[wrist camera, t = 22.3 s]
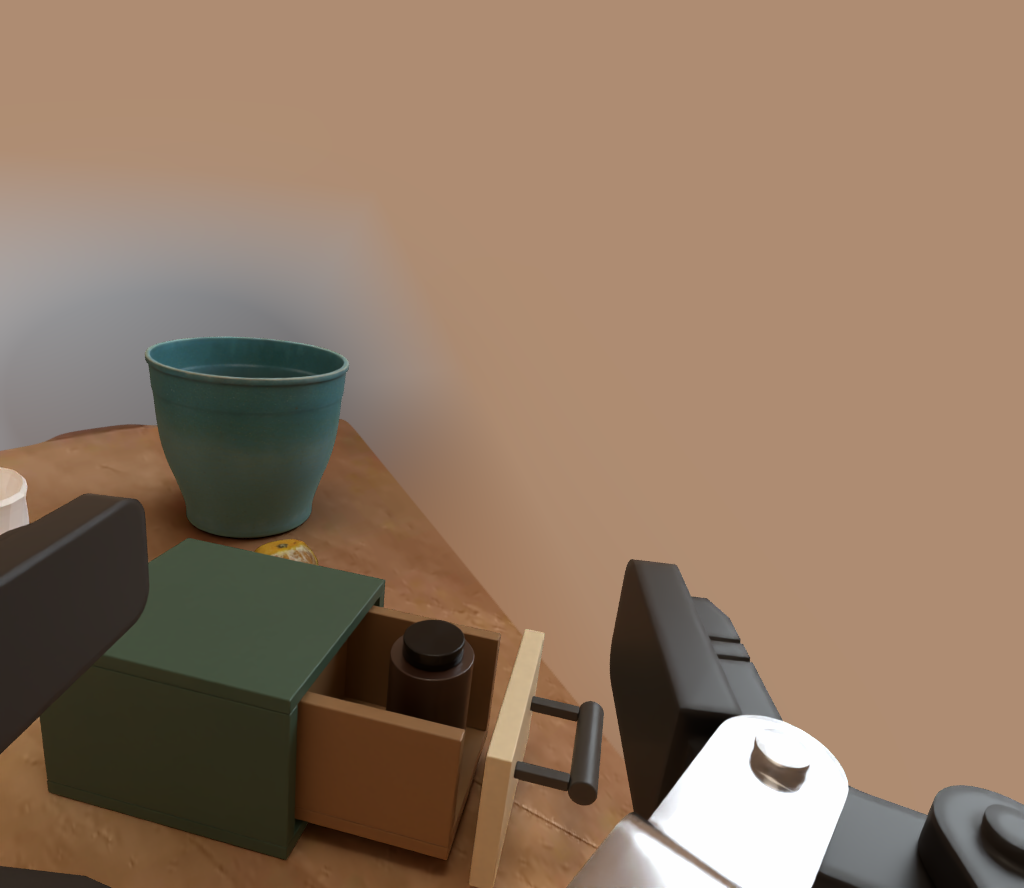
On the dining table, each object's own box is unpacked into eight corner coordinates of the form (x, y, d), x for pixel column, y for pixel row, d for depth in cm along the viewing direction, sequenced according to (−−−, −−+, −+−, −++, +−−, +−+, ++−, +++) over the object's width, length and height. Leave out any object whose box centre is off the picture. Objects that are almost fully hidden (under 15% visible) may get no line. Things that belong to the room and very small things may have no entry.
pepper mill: (469, 747, 38) (484, 622, 35) (448, 807, 34) (464, 671, 31) (397, 729, 39) (408, 606, 36) (368, 787, 34) (378, 651, 32)
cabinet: (376, 706, 43) (385, 579, 40) (286, 860, 32) (290, 701, 29) (192, 661, 45) (188, 537, 42) (47, 792, 34) (29, 636, 31)
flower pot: (359, 546, 64) (369, 378, 59) (151, 568, 55) (141, 374, 50) (322, 478, 79) (328, 340, 74) (154, 487, 71) (147, 333, 65)
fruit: (277, 629, 50) (278, 587, 48) (217, 586, 54) (216, 547, 53) (360, 591, 56) (362, 553, 55) (300, 556, 61) (301, 520, 59)
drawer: (592, 754, 40) (613, 647, 38) (577, 916, 30) (604, 785, 28) (342, 693, 42) (347, 589, 40) (252, 825, 33) (253, 697, 30)
